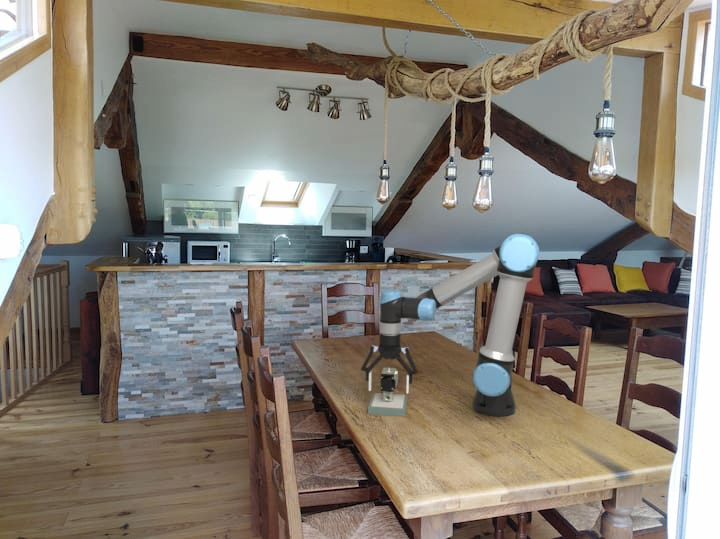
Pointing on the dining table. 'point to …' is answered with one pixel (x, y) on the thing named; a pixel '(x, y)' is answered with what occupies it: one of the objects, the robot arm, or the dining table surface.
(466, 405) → the dining table surface
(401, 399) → the stand
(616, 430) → the dining table surface
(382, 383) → the pneumatic valve
